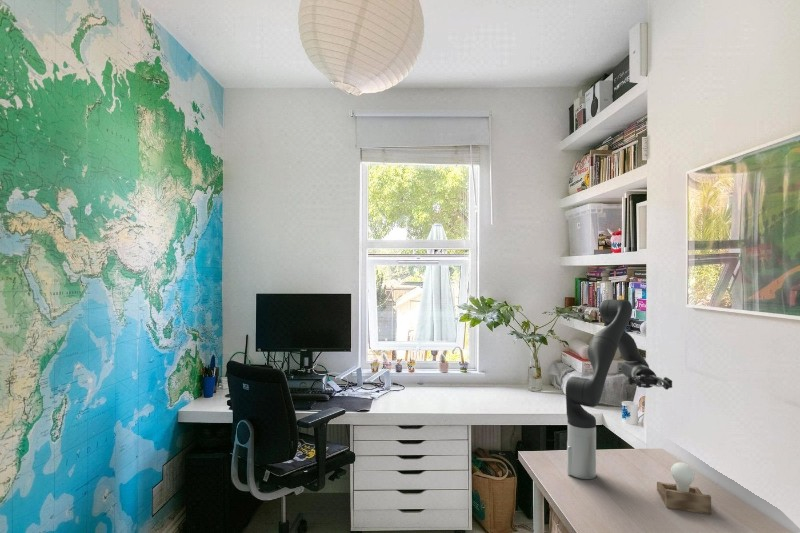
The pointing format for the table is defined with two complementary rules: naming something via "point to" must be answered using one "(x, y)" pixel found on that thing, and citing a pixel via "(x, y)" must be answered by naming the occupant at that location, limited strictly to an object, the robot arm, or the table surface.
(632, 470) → the table surface
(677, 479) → the lightbulb
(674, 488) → the cradle
